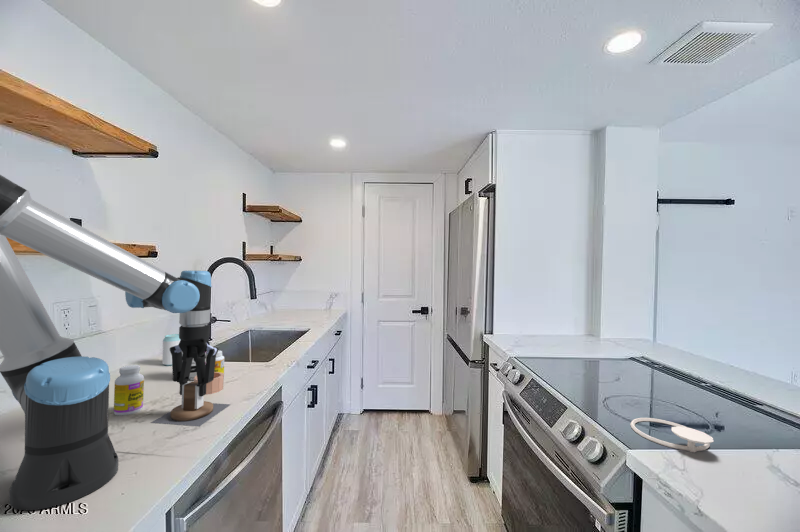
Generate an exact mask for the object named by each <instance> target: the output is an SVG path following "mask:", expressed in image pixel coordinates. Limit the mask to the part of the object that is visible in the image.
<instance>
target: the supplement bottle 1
mask: <svg viewBox="0 0 800 532" xmlns="http://www.w3.org/2000/svg"><path fill="white" fill-rule="evenodd" d="M140 372H141V365H139V364H129V365H125V366H121V367H119V372H118V373H119V374H120V375H119V376H117V377H116V378H115V380H114V396H113V414H114V416H115V415H116V416H128V415H133V414H136V413H137V412H140V411H142V410H143V408H144V395H145V394H144V391H145V389H144V388H145V387H144V386H145V385H144V384H145V376H144V375H143V374H142V373H140Z"/></svg>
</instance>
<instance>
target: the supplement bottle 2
mask: <svg viewBox="0 0 800 532" xmlns="http://www.w3.org/2000/svg"><path fill="white" fill-rule="evenodd" d="M214 372H221V373H224V374H225V356H224V355H223V350H220V349H219V350H218V352H217V354H216V360H215V370H214Z"/></svg>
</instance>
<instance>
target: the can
mask: <svg viewBox="0 0 800 532" xmlns="http://www.w3.org/2000/svg"><path fill="white" fill-rule="evenodd" d="M180 340H181V339H179V333H175V334H174V333H173V334H167V335H164V338H163V339H162V356H161V357H162V359H161V361H162V362H161V363H162V365H165V366H168V367H171V366H172V355H171V352H170V347H173V346H177V345H179V342H180Z"/></svg>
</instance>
